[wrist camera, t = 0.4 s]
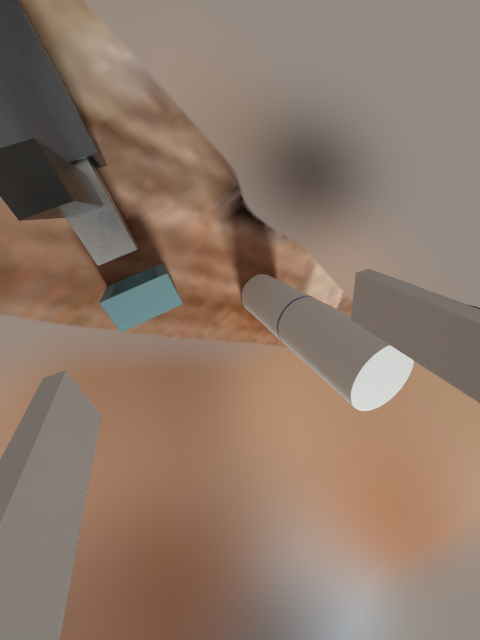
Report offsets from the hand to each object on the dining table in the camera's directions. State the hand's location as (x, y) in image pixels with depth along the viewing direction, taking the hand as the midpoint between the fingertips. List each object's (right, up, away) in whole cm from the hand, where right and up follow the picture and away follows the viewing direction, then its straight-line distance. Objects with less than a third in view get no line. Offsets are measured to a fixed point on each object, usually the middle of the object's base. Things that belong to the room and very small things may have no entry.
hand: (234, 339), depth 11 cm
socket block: (-14, +6, +23) cm, 28 cm away
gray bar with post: (-18, +17, +15) cm, 29 cm away
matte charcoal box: (-20, +21, +14) cm, 32 cm away
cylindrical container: (+4, +6, +31) cm, 32 cm away
